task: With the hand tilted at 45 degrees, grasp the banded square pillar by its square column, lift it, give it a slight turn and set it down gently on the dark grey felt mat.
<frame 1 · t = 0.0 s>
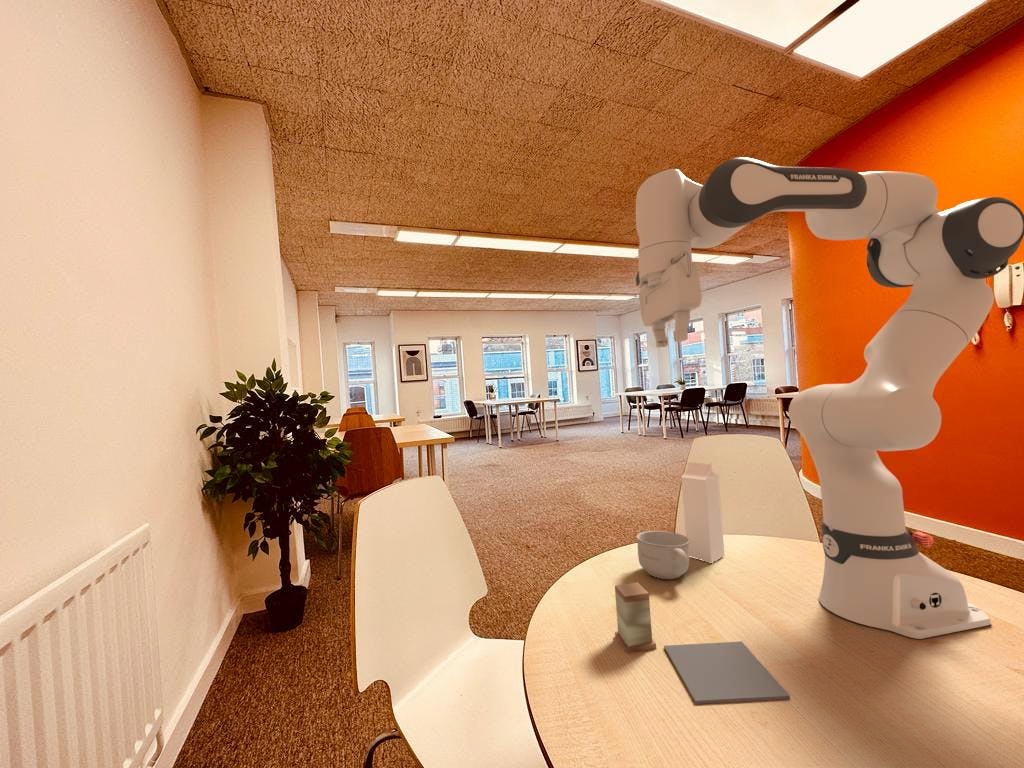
hand: (671, 344, 76), 48 cm above the table, tool pointing down, fingers open, 8 cm apart
teacup: (667, 577, 92), on the table
banded square pillar: (635, 642, 69), on the table
milk: (705, 557, 101), on the table
mat: (720, 671, 61), on the table
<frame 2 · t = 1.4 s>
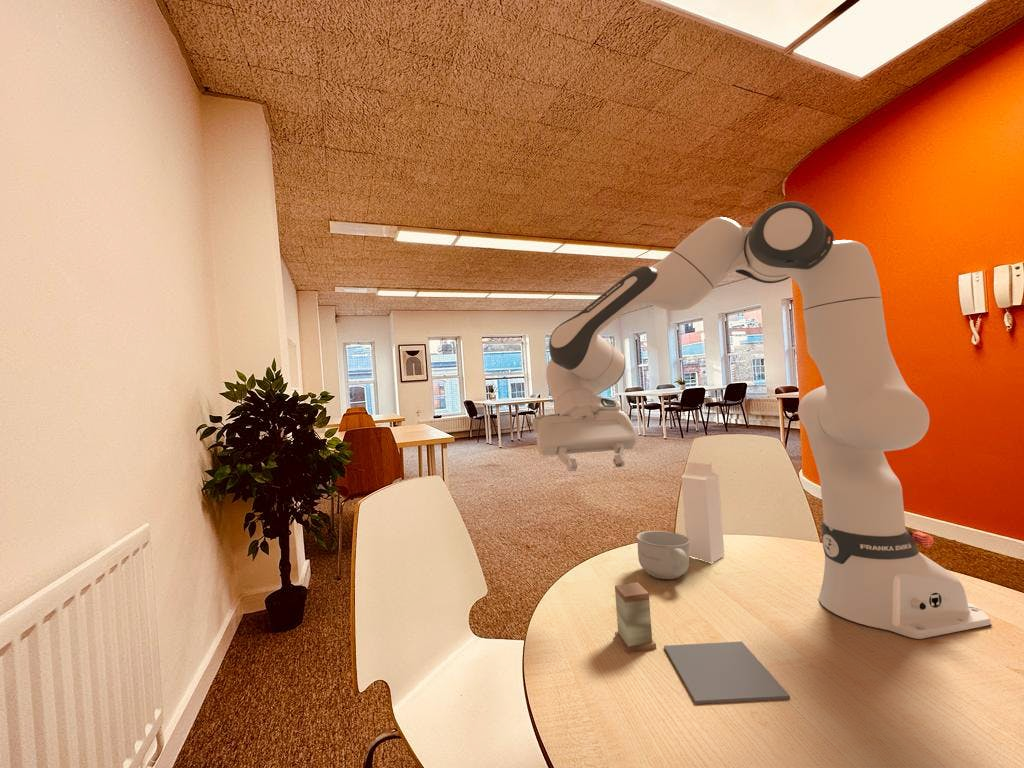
hand: (596, 467, 82), 26 cm above the table, tool tilted 45°, fingers open, 8 cm apart
nothing on the table moved.
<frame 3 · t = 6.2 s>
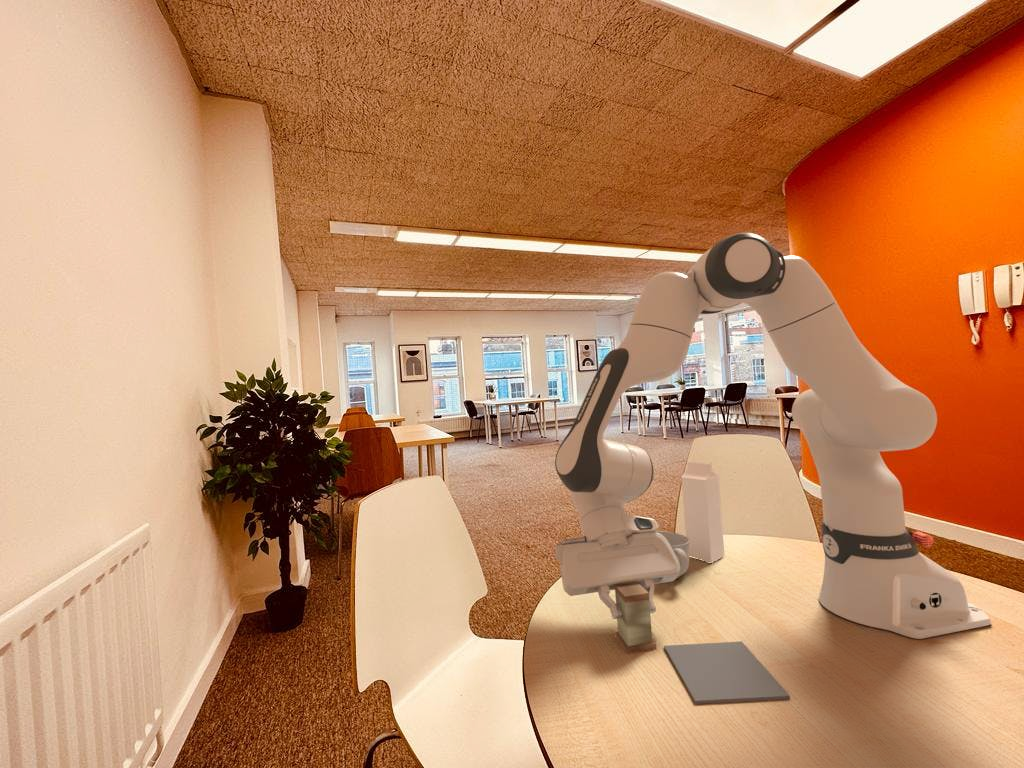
hand: (634, 614, 69), 5 cm above the table, tool tilted 45°, fingers closed on banded square pillar, 4 cm apart
banded square pillar: (635, 642, 69), on the table, touching gripper
everything else where it was.
when the fingers open (6 cm above the table, at t = 11.8 s): banded square pillar stays where it is, resting on mat.
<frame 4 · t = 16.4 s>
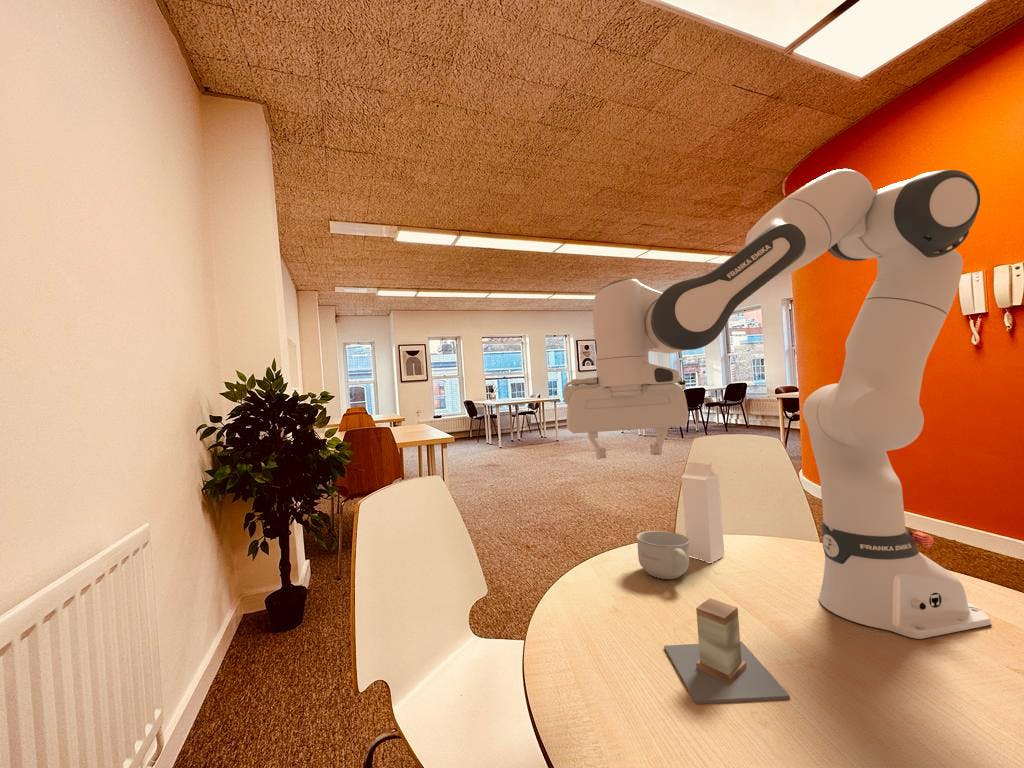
hand: (628, 456, 74), 29 cm above the table, tool pointing down, fingers open, 8 cm apart
banded square pillar: (721, 668, 61), resting on mat
everything else where it was.
at the end: banded square pillar inside the target area on the mat (0.1 cm from its centre), point 0.4 cm above the mat's base; banded square pillar tilted 0°; the gripper is holding nothing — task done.
